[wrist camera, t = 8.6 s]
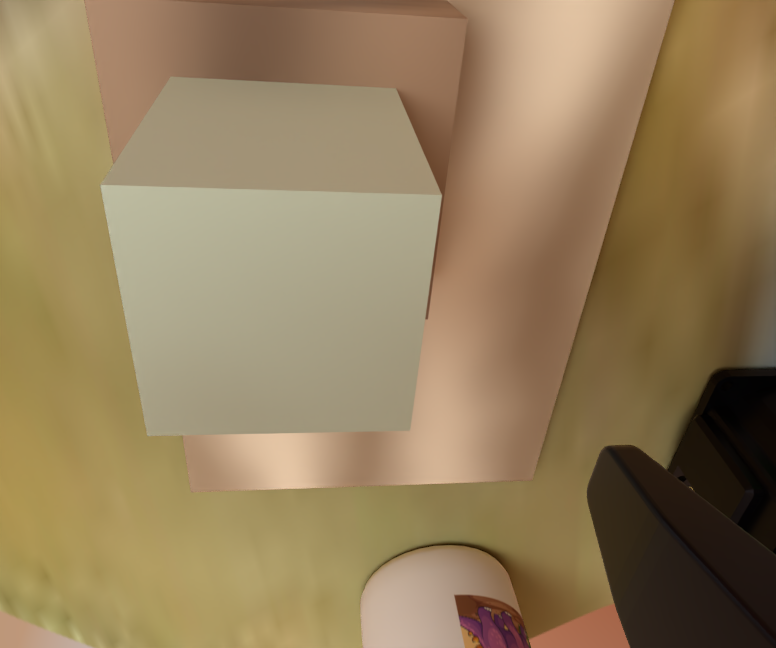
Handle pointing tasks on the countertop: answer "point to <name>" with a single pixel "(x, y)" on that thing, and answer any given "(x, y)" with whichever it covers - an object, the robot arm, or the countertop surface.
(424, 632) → the milk bottle
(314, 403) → the top block
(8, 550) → the countertop surface
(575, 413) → the countertop surface
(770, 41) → the countertop surface
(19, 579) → the countertop surface
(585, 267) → the board
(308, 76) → the base block
